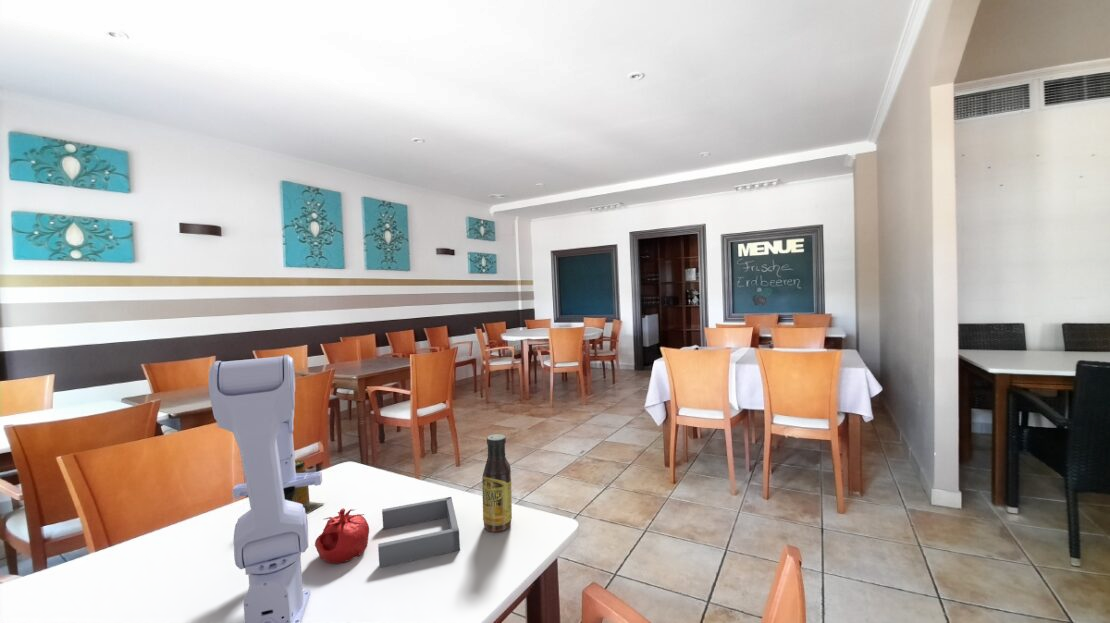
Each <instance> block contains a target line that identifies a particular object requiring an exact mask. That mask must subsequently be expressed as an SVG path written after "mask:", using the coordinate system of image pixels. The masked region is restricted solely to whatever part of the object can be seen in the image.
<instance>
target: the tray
mask: <svg viewBox="0 0 1110 623" xmlns="http://www.w3.org/2000/svg"><path fill="white" fill-rule="evenodd" d="M381 514H382V515H381V516H382V530H387V529H392V528H398V527H405V526H407V525H408V526H409V525H413V524H417V523H423V522H429V521H434V520H439V519H443V518H444V519H445V518H447V522H448V528H449V529H444V530H441V531H440V530H439V531H435V532H429V533H425V534H424V533H423V534H420V535H416V536H415V535H414V536H410V537H406V538H400V539H396V540H391V541H385V542H382V543H381V542H380V543H378V544H377V548H378V549H377V550H378V551H377V552H378V564H379V565H378V567H379V569H380V568H384V567H389V566H394V565H398V564H403V563H407V562H413V561H417V560H421V559H425V558H430V557H435V556H438V555H444V554H449V553H452V552H457V551H460V550H461V543H460V542H461V541H460V530H459V524H458V520H457V515H456V510H455V508H454V503H453V499H452V496H448V497H442V498H436V499H432V500H431V499H430V500H427V501H426V500H425V501H420V502H415V503H409V504H405V505H404V504H403V505H398V506H393V507H388V508H382V510H381Z"/></svg>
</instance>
